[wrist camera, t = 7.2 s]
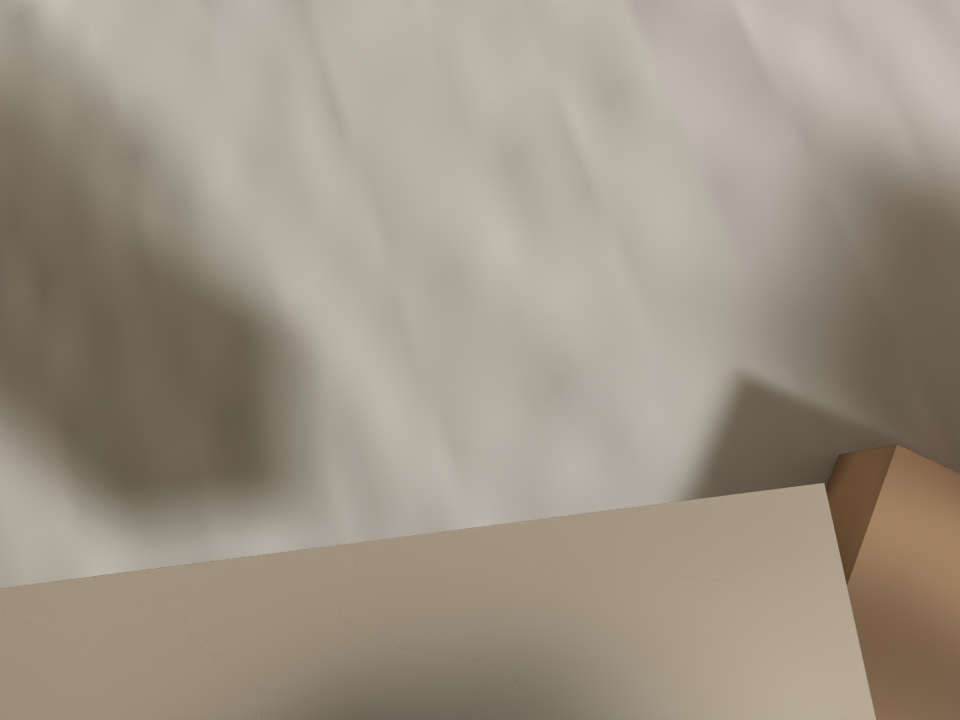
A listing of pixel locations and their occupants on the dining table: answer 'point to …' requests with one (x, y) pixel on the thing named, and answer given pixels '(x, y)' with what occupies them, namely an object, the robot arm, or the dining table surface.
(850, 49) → the dining table surface
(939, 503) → the tan wooden flat block
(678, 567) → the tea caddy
